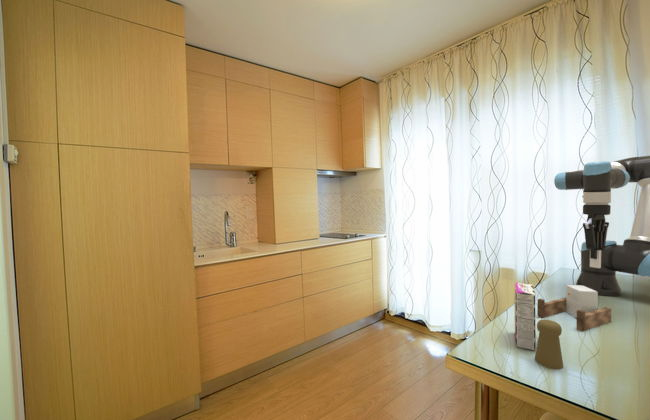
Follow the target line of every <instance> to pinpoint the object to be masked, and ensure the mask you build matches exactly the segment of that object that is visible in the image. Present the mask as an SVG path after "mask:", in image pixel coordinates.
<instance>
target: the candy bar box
mask: <svg viewBox="0 0 650 420" xmlns="http://www.w3.org/2000/svg"><path fill="white" fill-rule="evenodd" d="M514 333H515V335H514V336H515V337H514V338H515V347H516V348H520V349H525V350H528V351H534V352H536V349H537V348H536V345H537V344H536V339H537V337H536V333H537V332H536V293H535V288H534V284H530V283H524V282H515V283H514Z"/></svg>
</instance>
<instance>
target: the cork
mask: <svg viewBox="0 0 650 420" xmlns="http://www.w3.org/2000/svg"><path fill="white" fill-rule="evenodd" d="M536 328H537V331H538V332H539V333H538V339H537V344H536V348H535V349H536V350H535V354H534V355H535V356H534V361H535V362H536V363H537V364H538V365H540V366H542V367H545V368H548V369H552V370H561V369H563V368H564V361H563V355H562V349H561V348H562V347H561V342H560V336H561V335H562V331H563V330H562V326H561V324H560V323H559V322H556V321H554V320H551V319H540V320H538V321H537V324H536Z"/></svg>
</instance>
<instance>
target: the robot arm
mask: <svg viewBox="0 0 650 420" xmlns="http://www.w3.org/2000/svg"><path fill="white" fill-rule="evenodd" d="M553 181H554V182H553V184H554V186H555V188H556V189H557V190H560V191H563V190H564V191H569V190H571V191H572V190H583V192H582V196H581V197H582V200H583V201H582V203H583V205H582V214H583V215H587V218H586V222H583V223H582V227H583V230H584V240H585V241H583V242H582V244H581V248H580V249H581V250H580V273H579V276H578V278H577V280H576V282H575V285H582V286H585V287H587V288H590V289H592V290H595V291H597V292H598V296H606V297H607V296H608V297H616V296H617V297H618V296H621V295H622V288H621V287H620V284H619V282H618V279H617V276H616V273H617V272H618V273H624V274H629V275H636V276H640V277H649V278H650V155H644V156H642V155H641V156H634V157H627V158H624V159H620V160H614V161H593V162H591V161H590V162H587V163H585V164H584V165H583V169H578V170H574V171H563V172H559V173H557V174H556V175H555V176H554V179H553ZM629 183H637V185H638V186H640V187H641V190H640V194H639V197H638V198H639V199H638V201H637V206H636V209H635V210H636V211H635V214H634V219H633V223H632V226H631V227H632V228H631V232H630V235H629V237H628V238H626V239H623V243H622V244H618V243H617V241H615V240H607V235H608V228H609V226H610V222H609V221H608V222H607V221H606V217H605V216H608V215H609V216H610V215H611V206H612V205H610V204H611V203H612V196H611V195H612V190H614V189H621V188H624V187H625V186H626V185H628V184H629ZM611 189H612V190H611Z"/></svg>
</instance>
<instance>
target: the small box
mask: <svg viewBox="0 0 650 420" xmlns="http://www.w3.org/2000/svg"><path fill="white" fill-rule="evenodd" d="M565 287H566V288H565V289H566V311H565V312H566V313H567V314H569V315H570V316H572V317H574V318H575V319H577V310H582V311H585V313H589V312H592V311H595V310H599V309H598V308H599V301H598V300H599V297H598V296H599V295H598V292H597V291H595V290H592V289H590V288H587V287H585V286H582V285H576V284H566V286H565Z"/></svg>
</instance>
